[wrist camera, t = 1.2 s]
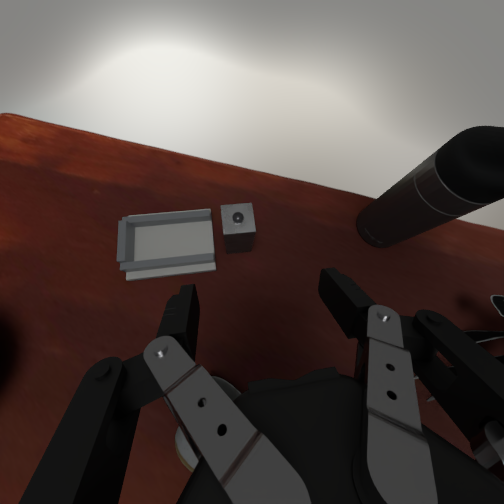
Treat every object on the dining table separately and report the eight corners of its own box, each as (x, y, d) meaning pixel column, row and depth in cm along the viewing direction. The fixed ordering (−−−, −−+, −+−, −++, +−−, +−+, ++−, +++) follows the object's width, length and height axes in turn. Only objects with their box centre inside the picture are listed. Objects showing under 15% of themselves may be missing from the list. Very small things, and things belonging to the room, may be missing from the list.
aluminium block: (247, 229, 40) (251, 201, 30) (251, 251, 38) (256, 230, 28) (224, 231, 39) (220, 204, 29) (226, 254, 38) (223, 233, 28)
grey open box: (211, 211, 40) (208, 200, 36) (216, 270, 37) (213, 265, 33) (131, 218, 38) (119, 207, 34) (129, 280, 35) (116, 276, 31)
